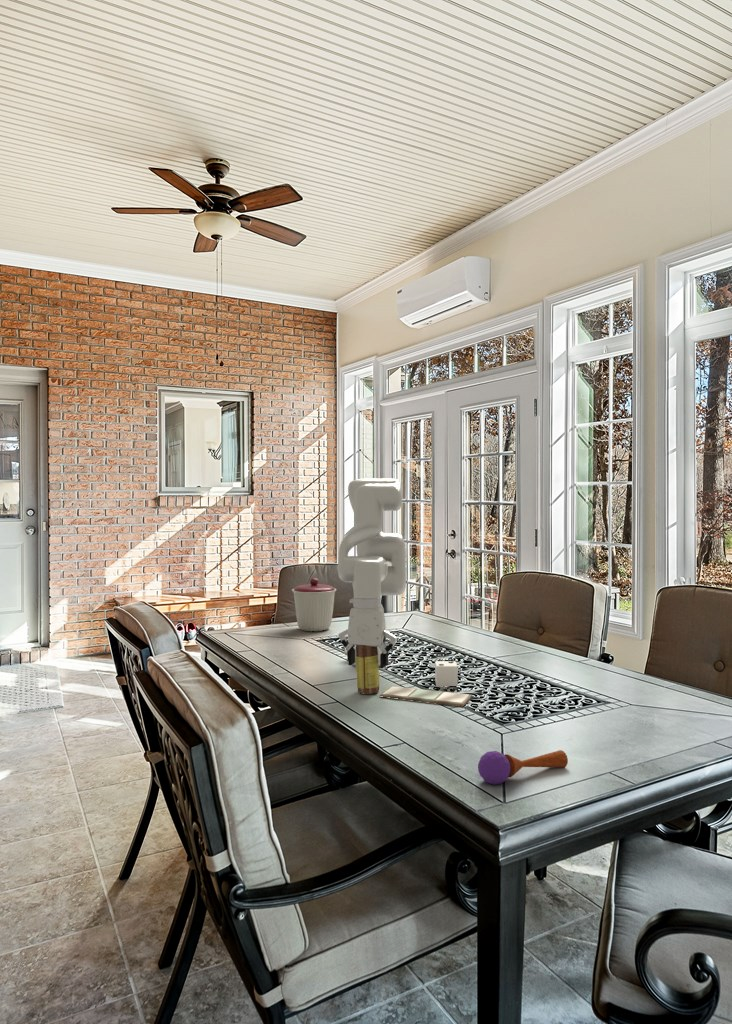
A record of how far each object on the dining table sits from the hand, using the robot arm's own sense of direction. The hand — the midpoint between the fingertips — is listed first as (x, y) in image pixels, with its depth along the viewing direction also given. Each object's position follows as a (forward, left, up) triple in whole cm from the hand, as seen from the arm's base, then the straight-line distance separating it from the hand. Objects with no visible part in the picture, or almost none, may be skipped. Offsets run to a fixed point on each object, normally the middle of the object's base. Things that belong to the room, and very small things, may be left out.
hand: (367, 665), depth 191 cm
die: (+18, +16, -8) cm, 25 cm away
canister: (-55, +76, -8) cm, 94 cm away
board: (+16, +1, -7) cm, 18 cm away
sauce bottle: (0, 0, -8) cm, 8 cm away
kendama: (+50, -41, -8) cm, 65 cm away
